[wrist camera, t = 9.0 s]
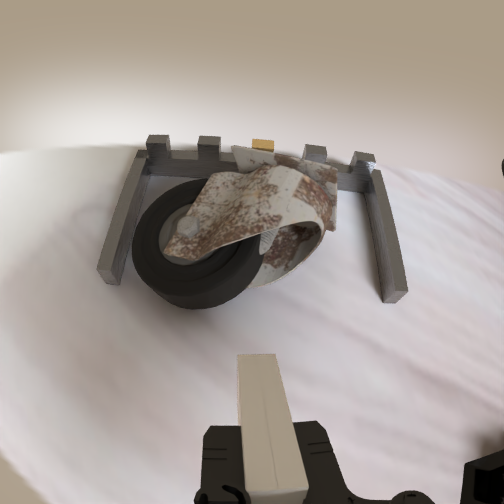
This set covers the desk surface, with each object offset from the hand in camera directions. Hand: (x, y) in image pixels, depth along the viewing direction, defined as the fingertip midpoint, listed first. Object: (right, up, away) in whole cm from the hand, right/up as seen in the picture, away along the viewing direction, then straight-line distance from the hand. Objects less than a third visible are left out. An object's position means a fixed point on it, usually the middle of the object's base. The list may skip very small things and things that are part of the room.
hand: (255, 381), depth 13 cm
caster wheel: (-2, +5, +10) cm, 11 cm away
